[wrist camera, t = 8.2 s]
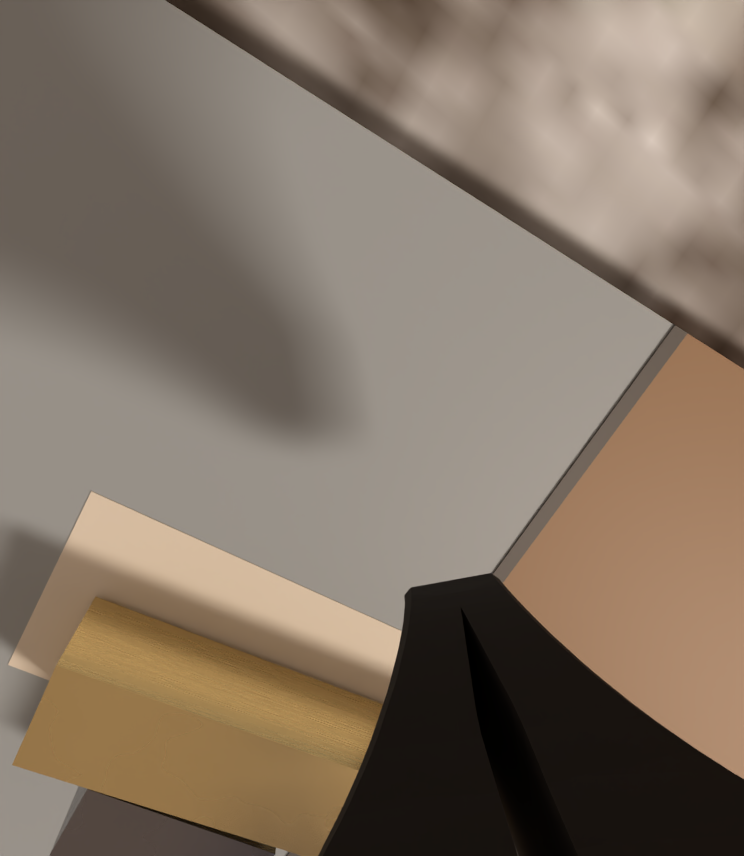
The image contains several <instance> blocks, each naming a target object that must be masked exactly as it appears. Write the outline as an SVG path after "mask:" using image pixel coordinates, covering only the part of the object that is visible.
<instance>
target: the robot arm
mask: <svg viewBox="0 0 744 856" xmlns="http://www.w3.org/2000/svg"><path fill="white" fill-rule="evenodd" d="M404 600H405V608H404V619H403V626H402V632H401V638H400V643H399V648H398V652H397V656H396V660H395V664H394V668H393V672H392V676H391V679H390V683H389V687H388V690H387V694H386V697H385V700H384V703H383V706H382V709H381V712H380V715H379V718H378V720H377V723H376V726H375V729H374V732H373V735H372V738H371V741H370V743H369V746H368V749H367V751H366V754H365V756H364V759H363V761H362V764H361V766H360V769H359V771H358V773H357V776H356V778H355V780H354V783H353V785H352V787H351V789H350V792H349V794H348V796H347V798H346V800H345V803H344V805H343V807H342V809H341V811H340V813H339V815H338V817H337V819H336V821H335V823H334V825H333V827H332V829H331V831H330V833H329V835H328V837H327V839H326V841H325V843H324V845H323V847H322V849H321V851H320V853H319V855H318V856H744V779H743V778H741V777H740V776H738V775H736V774H734V773H733V772H731V771H730V770H728V769H727V768H725V767H723V766H722V765H720V764H719V763H717V762H716V761H714V760H713V759H711V758H709V757H708V756H706V755H705V754H703V753H702V752H700V751H699V750H697V749H696V748H694V747H693V746H691V745H690V744H688V743H687V742H685V741H684V740H683V739H681V738H680V737H678V736H677V735H675V734H674V733H672V732H671V731H670V730H668V729H667V728H665V727H664V726H662V725H661V724H660V723H658V722H657V721H655V720H654V719H653V718H651V717H650V716H649V715H647V714H646V713H645V712H643V711H642V710H641V709H639V708H638V707H637V706H635V705H634V704H633V703H632V702H630V701H629V700H628V699H626V698H625V697H624V696H623V695H621V694H620V693H619V692H618V691H616V690H615V689H614V688H613V687H611V686H610V685H609V684H608V683H607V682H605V681H604V680H603V679H602V678H600V677H599V676H598V675H597V674H596V673H594V672H593V671H592V670H591V669H590V668H589V667H587V666H586V665H585V664H584V663H583V662H582V661H581V660H579V659H578V658H577V657H576V656H575V655H574V654H573V653H572V652H571V651H570V650H568V649H567V648H566V647H565V646H564V645H563V644H562V643H561V642H560V641H559V640H557V639H556V638H555V637H554V636H553V635H552V634H551V633H550V632H549V631H548V630H547V629H546V628H545V627H544V626H543V625H542V624H541V623H540V622H539V621H538V620H537V619H536V618H535V617H534V616H533V615H532V614H531V613H530V612H529V611H528V610H527V609H526V608H525V607H524V606H523V605H522V604H521V603H520V602H519V601H518V600H517V599H516V598H515V596H514V595H513V594H512V593H511V592H510V591H509V590H508V589H507V587H506V586H505V585H504V584H503V583H502V582H501V580H500V579H499V578H498V577H496V576H495V575H493V574H492V573H488V574H482V575H477V576H471V577H466V578H460V579H455V580H449V581H443V582H438V583H432V584H427V585H421V586H416V587H411V588H410V589H409V590H408V591H407V592H406V594H405V595H404ZM514 844H515V845H514ZM515 847H516V848H515ZM516 850H517V851H516ZM517 853H518V854H517Z"/></svg>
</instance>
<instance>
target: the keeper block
mask: <svg viewBox="0 0 744 856" xmlns="http://www.w3.org/2000/svg"><path fill="white" fill-rule="evenodd" d="M275 852H276V847H272V846H269V845H266V844H263V843H260V842H256V841H253V840H250V839H247V838H244V837H240V836H237V835H234V834H231V833H228V832H224V831H221V830H218V829H215V828H212V827H208V826H205V825H202V824H199V823H196V822H192V821H189V820H186V819H183V818H180V817H176V816H173V815H170V814H167V813H164V812H160V811H157V810H154V809H151V808H148V807H144V806H141V805H138V804H135V803H132V802H128V801H125V800H122V799H119V798H116V797H112V796H109V795H106V794H103V793H100V792H96V791H93V790H90V789H87V788H84V787H80V786H78V788H77V791H76V793H75V796H74V798H73V800H72V803H71V805H70V807H69V810H68V812H67V815H66V817H65V819H64V822H63V824H62V827H61V829H60V831H59V834H58V836H57V838H56V841H55V843H54V846H53V848H52V850H51V853H50V855H49V856H274V855H275Z"/></svg>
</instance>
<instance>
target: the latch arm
mask: <svg viewBox="0 0 744 856" xmlns="http://www.w3.org/2000/svg"><path fill="white" fill-rule="evenodd" d="M382 706H383V704H380V703H378V702H375V701H372V700H370V699H367V698H364V697H362V696H359V695H356V694H354V693H351V692H349V691H346V690H343V689H341V688H338V687H335V686H333V685H330V684H327V683H325V682H322V681H319V680H317V679H314V678H311V677H309V676H306V675H303V674H301V673H298V672H295V671H293V670H290V669H287V668H285V667H282V666H279V665H277V664H274V663H271V662H269V661H266V660H263V659H261V658H258V657H255V656H253V655H250V654H247V653H245V652H242V651H239V650H237V649H234V648H231V647H229V646H226V645H223V644H221V643H218V642H215V641H213V640H210V639H208V638H205V637H202V636H200V635H197V634H194V633H192V632H189V631H186V630H184V629H181V628H178V627H176V626H173V625H170V624H168V623H165V622H162V621H160V620H157V619H154V618H152V617H149V616H146V615H144V614H141V613H138V612H136V611H133V610H130V609H128V608H125V607H122V606H120V605H117V604H114V603H112V602H109V601H106V600H104V599H101V598H98V597H96V596H95V598H94V600H93V602H92V603H91V605H90V607H89V609H88V610H87V612H86V614H85V616H84V617H83V619H82V621H81V623H80V624H79V626H78V628H77V630H76V631H75V633H74V635H73V637H72V638H71V640H70V642H69V644H68V646H67V647H66V649H65V651H64V653H63V654H62V656H61V658H60V660H59V661H58V663H57V665H56V667H55V669H54V671H53V674H52V676H51V678H50V680H49V683H48V685H47V687H46V689H45V692H44V694H43V696H42V698H41V701H40V703H39V705H38V707H37V710H36V712H35V714H34V716H33V719H32V721H31V723H30V725H29V728H28V730H27V732H26V734H25V737H24V739H23V741H22V743H21V746H20V748H19V750H18V752H17V755H16V757H15V759H14V761H13V764H12V765H13V766H16V767H20V768H23V769H26V770H29V771H32V772H36V773H39V774H42V775H45V776H48V777H52V778H55V779H58V780H61V781H64V782H68V783H71V784H74V785H77V786H80V787H84V788H87V789H90V790H93V791H96V792H100V793H103V794H106V795H109V796H112V797H116V798H119V799H122V800H125V801H128V802H132V803H135V804H138V805H141V806H144V807H148V808H151V809H154V810H157V811H160V812H164V813H167V814H170V815H173V816H176V817H180V818H183V819H186V820H189V821H192V822H196V823H199V824H202V825H205V826H208V827H212V828H215V829H218V830H221V831H224V832H228V833H231V834H234V835H237V836H240V837H244V838H247V839H250V840H253V841H256V842H260V843H263V844H266V845H269V846H272V847H276V848H279V849H282V850H285V851H288V852H292V853H295V854H298V855H301V856H318V855H319V853H320V851H321V849H322V847H323V845H324V843H325V841H326V839H327V837H328V835H329V833H330V831H331V829H332V827H333V825H334V823H335V821H336V819H337V817H338V815H339V813H340V811H341V809H342V807H343V805H344V803H345V800H346V798H347V796H348V794H349V792H350V789H351V787H352V785H353V783H354V780H355V778H356V776H357V773H358V771H359V769H360V766H361V764H362V761H363V759H364V756H365V754H366V751H367V749H368V746H369V743H370V741H371V738H372V735H373V732H374V729H375V726H376V723H377V720H378V718H379V715H380V712H381V709H382ZM514 845H515V844H514ZM515 848H516V847H515ZM516 851H517V850H516ZM517 854H518V853H517Z"/></svg>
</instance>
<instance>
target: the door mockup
mask: <svg viewBox="0 0 744 856" xmlns="http://www.w3.org/2000/svg"><path fill="white" fill-rule="evenodd" d="M488 573H492V574H493V575H495V576H496V577H498V578H499V579H500V580H501V582H502V583H503V584H504V585H505V586H506V587H507V589H508V590H509V591H510V592H511V593H512V594H513V595H514V596H515V598H516V599H517V600H518V601H519V602H520V603H521V604H522V605H523V606H524V607H525V608H526V609H527V610H528V611H529V612H530V613H531V614H532V615H533V616H534V617H535V618H536V619H537V620H538V621H539V622H540V623H541V624H542V625H543V626H544V627H545V628H546V629H547V630H548V631H549V632H550V633H551V634H552V635H553V636H554V637H555V638H556V639H557V640H559V641H560V642H561V643H562V644H563V645H564V646H565V647H566V648H567V649H568V650H570V651H571V652H572V653H573V654H574V655H575V656H576V657H577V658H578V659H579V660H581V661H582V662H583V663H584V664H585V665H586V666H587V667H589V668H590V669H591V670H592V671H593V672H594V673H596V674H597V675H598V676H599V677H600V678H602V679H603V680H604V681H605V682H607V683H608V684H609V685H610V686H611V687H613V688H614V689H615V690H616V691H618V692H619V693H620V694H621V695H623V696H624V697H625V698H626V699H628V700H629V701H630V702H632V703H633V704H634V705H635V706H637V707H638V708H639V709H641V710H642V711H643V712H645V713H646V714H647V715H649V716H650V717H651V718H653V719H654V720H655V721H657V722H658V723H660V724H661V725H662V726H664V727H665V728H667V729H668V730H670V731H671V732H672V733H674V734H675V735H677V736H678V737H680V738H681V739H683V740H684V741H685V742H687V743H688V744H690V745H691V746H693V747H694V748H696V749H697V750H699V751H700V752H702V753H703V754H705V755H706V756H708V757H709V758H711V759H713V760H714V761H716V762H717V763H719V764H720V765H722V766H723V767H725V768H727V769H728V770H730V771H731V772H733V773H734V774H736V775H738V776H740V777H741V778H743V779H744V369H743V368H741V367H740V366H738V365H736V364H735V363H733V362H732V361H730V360H729V359H727V358H725V357H724V356H722V355H721V354H719V353H718V352H716V351H714V350H713V349H711V348H710V347H708V346H707V345H705V344H703V343H702V342H700V341H699V340H697V339H696V338H694V337H692V336H691V335H689V334H688V333H687V332H685V331H683V330H682V329H680V328H679V327H677V326H676V325H674V324H672V323H671V322H669V321H667V320H666V319H664V318H663V317H661V316H660V315H658V314H656V313H655V312H653V311H652V310H650V309H649V308H647V307H645V306H644V305H642V304H641V303H639V302H638V301H636V300H634V299H633V298H631V297H630V296H628V295H627V294H625V293H623V292H622V291H620V290H619V289H617V288H616V287H614V286H612V285H611V284H609V283H608V282H606V281H605V280H603V279H602V278H600V277H598V276H597V275H595V274H594V273H592V272H591V271H589V270H587V269H586V268H584V267H583V266H581V265H580V264H578V263H576V262H575V261H573V260H572V259H570V258H569V257H567V256H565V255H564V254H562V253H561V252H559V251H558V250H556V249H554V248H553V247H551V246H550V245H548V244H547V243H545V242H543V241H542V240H540V239H539V238H537V237H536V236H534V235H533V234H531V233H529V232H528V231H526V230H525V229H523V228H522V227H520V226H518V225H517V224H515V223H514V222H512V221H511V220H509V219H507V218H506V217H504V216H503V215H501V214H500V213H498V212H496V211H495V210H493V209H492V208H490V207H489V206H487V205H485V204H484V203H482V202H481V201H479V200H478V199H476V198H474V197H473V196H471V195H470V194H468V193H467V192H465V191H463V190H462V189H460V188H459V187H457V186H456V185H454V184H453V183H451V182H449V181H448V180H446V179H445V178H443V177H442V176H440V175H438V174H437V173H435V172H434V171H432V170H431V169H429V168H427V167H426V166H424V165H423V164H421V163H420V162H418V161H416V160H415V159H413V158H412V157H410V156H409V155H407V154H405V153H404V152H402V151H401V150H399V149H398V148H396V147H394V146H393V145H391V144H390V143H388V142H387V141H385V140H384V139H382V138H380V137H379V136H377V135H376V134H374V133H373V132H371V131H369V130H368V129H366V128H365V127H363V126H362V125H360V124H358V123H357V122H355V121H354V120H352V119H351V118H349V117H347V116H346V115H344V114H343V113H341V112H340V111H338V110H336V109H335V108H333V107H332V106H330V105H329V104H327V103H325V102H324V101H322V100H321V99H319V98H318V97H316V96H315V95H313V94H311V93H310V92H308V91H307V90H305V89H304V88H302V87H300V86H299V85H297V84H296V83H294V82H293V81H291V80H289V79H288V78H286V77H285V76H283V75H282V74H280V73H278V72H277V71H275V70H274V69H272V68H271V67H269V66H267V65H266V64H264V63H263V62H261V61H260V60H258V59H256V58H255V57H253V56H252V55H250V54H249V53H247V52H246V51H244V50H242V49H241V48H239V47H238V46H236V45H235V44H233V43H231V42H230V41H228V40H227V39H225V38H224V37H222V36H220V35H219V34H217V33H216V32H214V31H213V30H211V29H209V28H208V27H206V26H205V25H203V24H202V23H200V22H198V21H197V20H195V19H194V18H192V17H191V16H189V15H187V14H186V13H184V12H183V11H181V10H180V9H178V8H177V7H175V6H173V5H172V4H170V3H169V2H167V1H166V0H0V856H49V855H50V853H51V850H52V848H53V846H54V843H55V841H56V838H57V836H58V834H59V831H60V829H61V827H62V824H63V822H64V819H65V817H66V815H67V812H68V810H69V807H70V805H71V803H72V800H73V798H74V796H75V793H76V791H77V788H78V786H77V785H74V784H71V783H68V782H64V781H61V780H58V779H55V778H52V777H48V776H45V775H42V774H39V773H36V772H32V771H29V770H26V769H23V768H20V767H16V766H13V765H12V764H13V761H14V759H15V757H16V755H17V752H18V750H19V748H20V746H21V743H22V741H23V739H24V737H25V734H26V732H27V730H28V728H29V725H30V723H31V721H32V719H33V716H34V714H35V712H36V710H37V707H38V705H39V703H40V701H41V698H42V696H43V694H44V692H45V689H46V687H47V685H48V683H49V680H50V678H51V676H52V674H53V671H54V669H55V667H56V665H57V663H58V661H59V660H60V658H61V656H62V654H63V653H64V651H65V649H66V647H67V646H68V644H69V642H70V640H71V638H72V637H73V635H74V633H75V631H76V630H77V628H78V626H79V624H80V623H81V621H82V619H83V617H84V616H85V614H86V612H87V610H88V609H89V607H90V605H91V603H92V602H93V600H94V598H95V596H96V597H98V598H101V599H104V600H106V601H109V602H112V603H114V604H117V605H120V606H122V607H125V608H128V609H130V610H133V611H136V612H138V613H141V614H144V615H146V616H149V617H152V618H154V619H157V620H160V621H162V622H165V623H168V624H170V625H173V626H176V627H178V628H181V629H184V630H186V631H189V632H192V633H194V634H197V635H200V636H202V637H205V638H208V639H210V640H213V641H215V642H218V643H221V644H223V645H226V646H229V647H231V648H234V649H237V650H239V651H242V652H245V653H247V654H250V655H253V656H255V657H258V658H261V659H263V660H266V661H269V662H271V663H274V664H277V665H279V666H282V667H285V668H287V669H290V670H293V671H295V672H298V673H301V674H303V675H306V676H309V677H311V678H314V679H317V680H319V681H322V682H325V683H327V684H330V685H333V686H335V687H338V688H341V689H343V690H346V691H349V692H351V693H354V694H356V695H359V696H362V697H364V698H367V699H370V700H372V701H375V702H378V703H380V704H383V703H384V700H385V697H386V694H387V690H388V687H389V683H390V679H391V676H392V672H393V668H394V664H395V660H396V656H397V652H398V648H399V643H400V638H401V632H402V626H403V619H404V608H405V600H404V595H405V594H406V592H407V591H408V590H409V589H410V588H411V587H416V586H421V585H427V584H432V583H438V582H443V581H449V580H455V579H460V578H466V577H471V576H477V575H482V574H488ZM274 856H301V855H298V854H295V853H292V852H288V851H285V850H282V849H279V848H276V852H275V855H274Z"/></svg>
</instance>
